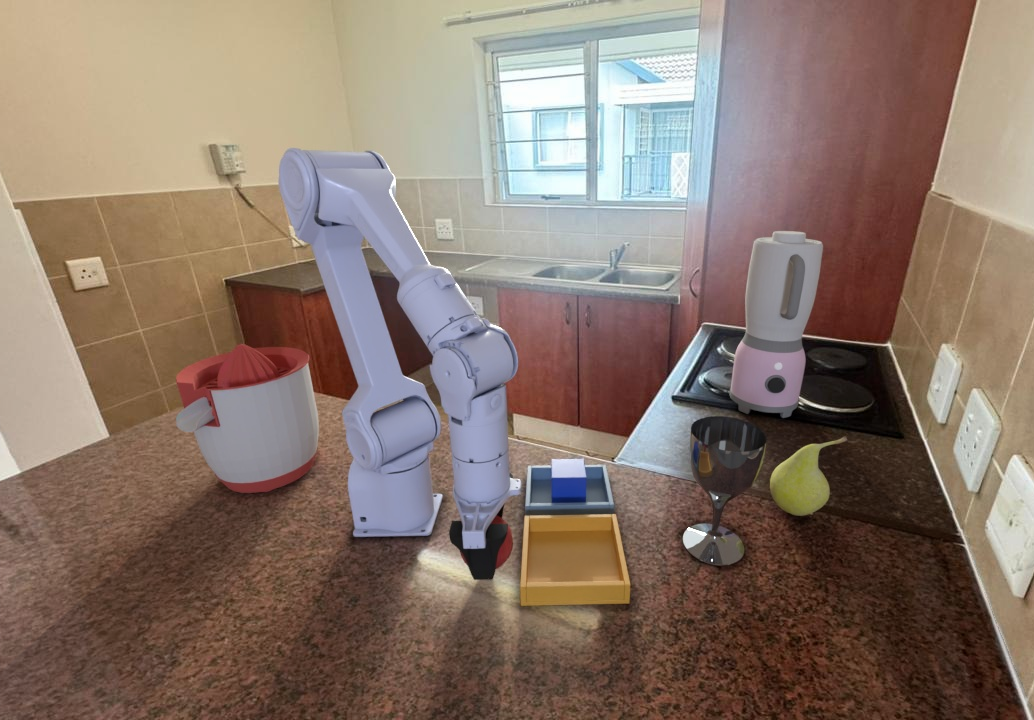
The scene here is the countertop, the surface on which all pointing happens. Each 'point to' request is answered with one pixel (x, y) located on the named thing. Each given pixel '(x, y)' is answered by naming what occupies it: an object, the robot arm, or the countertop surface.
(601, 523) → the ochre tray
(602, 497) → the gray tray
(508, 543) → the onion
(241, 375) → the citrus juicer
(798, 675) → the countertop surface
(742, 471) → the wine glass
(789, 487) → the fruit
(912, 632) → the countertop surface
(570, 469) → the blue block
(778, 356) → the blender
